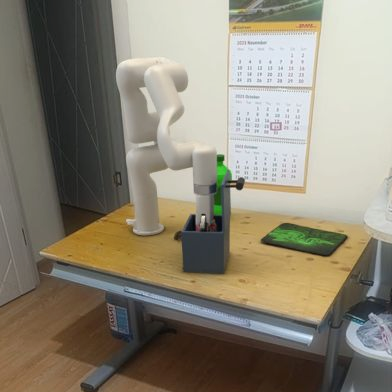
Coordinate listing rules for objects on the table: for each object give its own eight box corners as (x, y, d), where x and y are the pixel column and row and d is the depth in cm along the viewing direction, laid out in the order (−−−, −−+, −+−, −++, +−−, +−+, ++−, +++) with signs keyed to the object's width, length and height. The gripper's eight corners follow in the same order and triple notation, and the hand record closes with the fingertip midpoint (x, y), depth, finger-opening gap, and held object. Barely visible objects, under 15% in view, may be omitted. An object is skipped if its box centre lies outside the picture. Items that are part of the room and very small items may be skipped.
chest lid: (220, 184, 140) (241, 184, 139) (227, 169, 154) (246, 169, 152) (222, 231, 148) (242, 231, 147) (228, 213, 162) (246, 213, 161)
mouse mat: (349, 236, 179) (349, 233, 178) (329, 257, 164) (329, 254, 163) (282, 224, 191) (282, 221, 191) (258, 242, 176) (258, 240, 176)
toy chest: (183, 271, 159) (181, 231, 151) (192, 251, 172) (190, 213, 164) (223, 273, 157) (223, 233, 149) (229, 253, 170) (229, 214, 162)
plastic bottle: (221, 211, 207) (221, 151, 192) (236, 218, 199) (237, 155, 185) (203, 216, 202) (201, 155, 188) (217, 223, 195) (216, 160, 181)
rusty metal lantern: (183, 236, 170) (206, 225, 172) (168, 222, 179) (190, 212, 181) (187, 253, 175) (210, 242, 177) (172, 238, 184) (194, 228, 186)
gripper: (198, 180, 157) (199, 231, 168) (188, 196, 143) (191, 250, 154) (220, 180, 156) (220, 231, 166) (213, 196, 142) (213, 251, 152)
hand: (206, 240), depth 160 cm, fingers closed on soda can, 7 cm apart
